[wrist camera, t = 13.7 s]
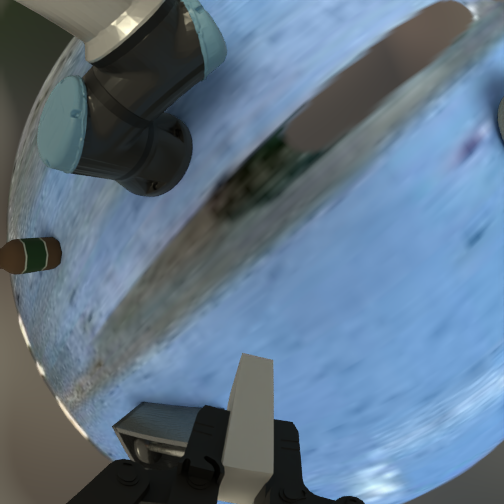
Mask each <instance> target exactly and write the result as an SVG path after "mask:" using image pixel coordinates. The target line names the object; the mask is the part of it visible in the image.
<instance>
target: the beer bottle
mask: <svg viewBox="0 0 504 504" xmlns="http://www.w3.org/2000/svg"><path fill="white" fill-rule="evenodd" d="M61 256H62V251H61V247H60V243H59V242H58V241H57V240H56V239H55V238H53V237H42V238H25V239H15V240H11V241H10V242H8V243H6V244H5V245H4V246H3V247H2V248H1V249H0V269H4V270H6V271H7V272H9V273H12V274H24V273H31V272H37V271H43V270H50V269H54V268H55V267H57V266H58V265H59V264H60V263H61Z"/></svg>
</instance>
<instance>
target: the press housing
mask: <svg viewBox="0 0 504 504" xmlns="http://www.w3.org/2000/svg"><path fill="white" fill-rule="evenodd" d="M201 409H202V408H198V407H184V406H173V405H164V404H155V403H147V402H142V403H141V404H139V405H138V406H137V407H136V408H134V409H133V410H132V411H131V412H129V413H128V414H127V415H126V416H124V417H123V418H122V419H121V420H119V421H118V422H117V423H116V424H114V425H113V426H112V427H113V429H114V431H115V433H116V435H117V437H118V439H119V441H120V442H121V444H122V446H123V448H124V450H125V451H126V453H127V455H128V457H129V458H130V460H132V461H134V462H137V463H139V464H140V465H141V466H143V467H144V468H145V469H150V470H169V469H172V468H174V467H176V466H178V462H179V460H180V459H181V457H177V456H172V455H168V454H162V457H161V458H160V460H159V461H157V462H156V463H154V464H149V463H145V462H142V461H141V460H139V459H138V457H137V456H136V453H135V450H134V441H135V438H136V437H138V438H142V439H147V440H151V441H156V442H160V443H164V445H169V446H175V447H180V448H186V447H187V444H188V441H189V438H190V435H191V431H192V428H193V425H194V422H195V419H196V416H197V413H198V411H199V410H201ZM223 410H224V409H223Z"/></svg>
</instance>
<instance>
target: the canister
mask: <svg viewBox="0 0 504 504" xmlns="http://www.w3.org/2000/svg"><path fill="white" fill-rule="evenodd" d="M498 123H499V128H500V133H501V135H502V138H503V140H504V97H503V98H502V100H501V102H500V105H499V108H498Z"/></svg>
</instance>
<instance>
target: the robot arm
mask: <svg viewBox="0 0 504 504" xmlns="http://www.w3.org/2000/svg"><path fill="white" fill-rule="evenodd" d="M15 1H17V2H19V3H21V4H22V5H24V6H26V7H28V8H30V9H31V10H33V11H35V12H37V13H39V14H40V15H42V16H43V17H45V18H47V19H49V20H50V21H52V22H53V23H55V24H57V25H58V26H60V27H62V28H63V29H65V30H66V31H68V32H69V33H71V34H72V35H74V36H75V37H77V38H78V39H80V40H82V41H83V42H84V44H85V59H86V61H87V62H89V63H90V64H92V65H93V66H92V68H91V69H90V70H89V71H88V72H87V73H86V74H85V75H84V76H83V78H81V77H80V76H68V77H66V78H65V79H63V80H61V81H60V82H59V83H58V84H57V85H56V87H55V88H54V89H53V91H52V92H51V94H50V96H49V98H48V100H47V102H46V104H45V106H44V109H43V111H42V115H41V118H40V122H39V127H38V136H37V144H38V151H39V155H40V158H41V160H42V162H43V163H44V164H45V165H46V166H47V167H49V168H52V169H56V170H60V171H63V172H64V173H71V174H78V175H85V176H92V177H98V178H105V179H111V180H115V181H117V182H118V183H119V184H120V185H122V186H123V187H124V188H126V189H127V190H128V191H130V192H131V193H134V194H136V195H140V196H147V197H154V196H159V195H162V194H164V193H166V192H168V191H169V190H171V189H172V188H173V187H174V186H175V185H176V184H177V183H178V182H179V181H180V180H181V178H182V177H183V175H184V174H185V172H186V170H187V168H188V166H189V163H190V159H191V155H192V138H191V135H190V132H189V130H188V128H187V126H186V125H185V124H184V123H183V122H182V121H181V120H180V119H178V118H176V117H175V116H173V115H171V114H169V113H165V112H164V111H165V110H166V109H167V108H168V107H170V106H171V105H172V104H173V103H174V102H175V101H176V100H178V99H179V98H180V97H181V96H182V95H183V94H185V93H186V92H187V91H188V90H190V89H191V88H192V87H193V86H194V85H196V84H197V83H198V82H199V81H204V80H205V79H206V78H207V76H208V75H209V74H210V73H211V72H212V71H214V70H215V69H216V68H217V67H219V66H220V65H221V64H222V63H223V62H224V60H225V58H226V55H227V47H226V43H225V41H224V38H223V36H222V34H221V32H220V30H219V28H218V27H217V25H216V23H215V22H214V20H213V19H212V17H211V16H210V14H209V13H208V12H207V11H205V10H204V8H203V6H202V5H201V3H200V2H199V1H198V0H15ZM217 500H220V501H225V502H231V503H237V504H252V503H253V502H254V504H365V503H364V502H363V501H362V500H360V499H359V498H357V497H353V496H343V497H341V498H339V499H337V500H336V501H335V500H331V499H327V498H323V497H320V496H317V495H315V494H313V493H312V492H310V491H309V490H308V488H307V487H306V486H305V485H304V483H303V479H302V467H301V455H300V444H299V433H298V430H297V429H296V427H295V425H294V424H293V422H288V421H282V420H275V419H274V393H273V360H271V359H266V358H262V357H257V356H253V355H249V354H245V353H242V356H241V359H240V362H239V366H238V369H237V373H236V376H235V379H234V383H233V386H232V389H231V393H230V397H229V402H228V407H227V410H223V409H219V408H216V407H212V406H208V405H205V406H204V407H203V408H202V409H201V410H199V411H198V413H197V416H196V419H195V422H194V425H193V428H192V431H191V435H190V438H189V441H188V444H187V447H186V450H185V453H184V455H183V456H182V457H181V459H180V460H179V462H178V466H176V467H174V468H172V469H169V470H150V469H145V468H144V467H143V466H141V465H140V464H139V463H137V462H134V461H132V460H126V459H121V460H115V461H114V462H112V463H110V464H109V465H108V466H107V467H106V468H105V469H104V470H103V471H102V472H100V473H99V474H98V475H97V476H96V477H95V478H94V479H93V480H92V481H91V482H90V483H89V484H88V485H86V486H85V487H84V488H83V489H82V490H81V491H80V492H79V493H78V494H77V495H76V496H74V497H73V498H72V499H71V500H70V501H69V502H68V503H66V504H217Z"/></svg>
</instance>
